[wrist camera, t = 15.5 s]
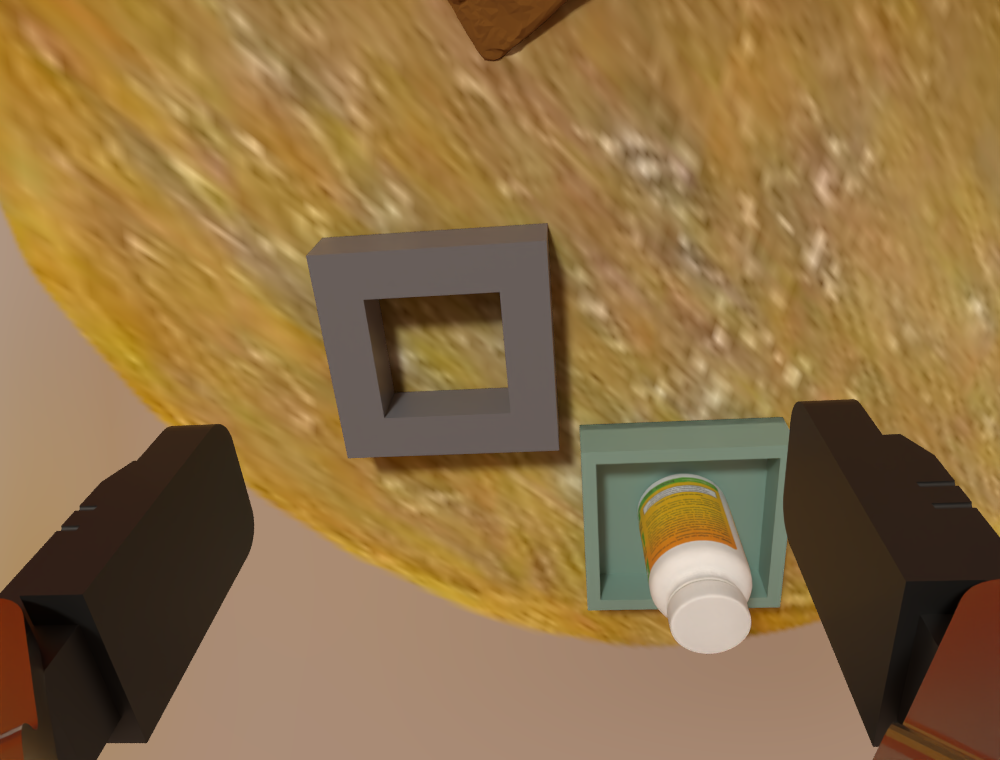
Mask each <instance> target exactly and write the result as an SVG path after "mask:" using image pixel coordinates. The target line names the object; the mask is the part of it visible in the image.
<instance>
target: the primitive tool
mask: <svg viewBox="0 0 1000 760" xmlns="http://www.w3.org/2000/svg"><path fill="white" fill-rule="evenodd" d="M448 1H449V3H450V5H451V6H452V8H453V9H454V11H455V13H456V15H457V17H458V19H459V21H460V22H461V24H462V26H463V28H464V29H465V31H466V33H467V34H468V36H469V38H470V39H471V41H472V42H473V44H474V46H475V48H476V49H477V51H478V52H479V53H480V54H481V55H482V57H483V58H484V59H485V60H497V59H499V58H501V57H502V56H504V55H505V54H506V53H507V52H508V51H509V50H511V49H512V48H513V47H514V46H516V45H517V44H519V43H520V42H521V41H522V40H523V39H524V38H526V37H528V36H529V35H530V34H531V33H532V32H533V31H535V30H536V29H537V28H538V27H539V26H540V25H542V24H543V23H544V22H545V21H546V20H547V19H548V18H549V17H550V16H551V15H552V14H553V13H554V12H556V11H557V10H558V9H559V8H560V7H561V6H562V5H563V4H564V3H565V2H566V1H568V0H448Z"/></svg>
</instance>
